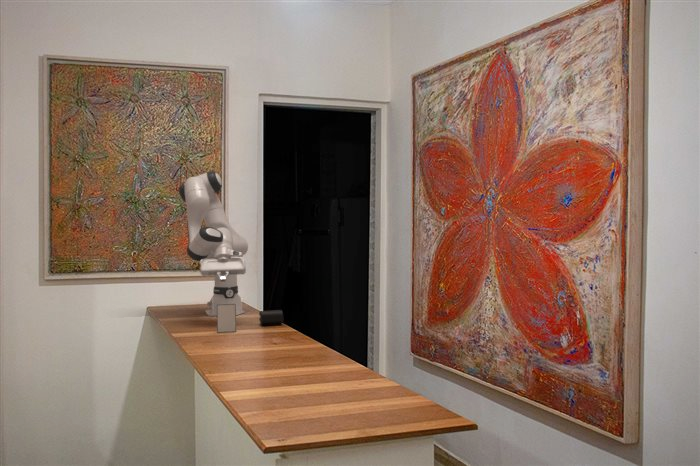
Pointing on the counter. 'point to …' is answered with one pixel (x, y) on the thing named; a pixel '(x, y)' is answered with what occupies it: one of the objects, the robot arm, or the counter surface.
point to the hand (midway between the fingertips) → (223, 280)
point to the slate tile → (226, 318)
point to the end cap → (271, 317)
